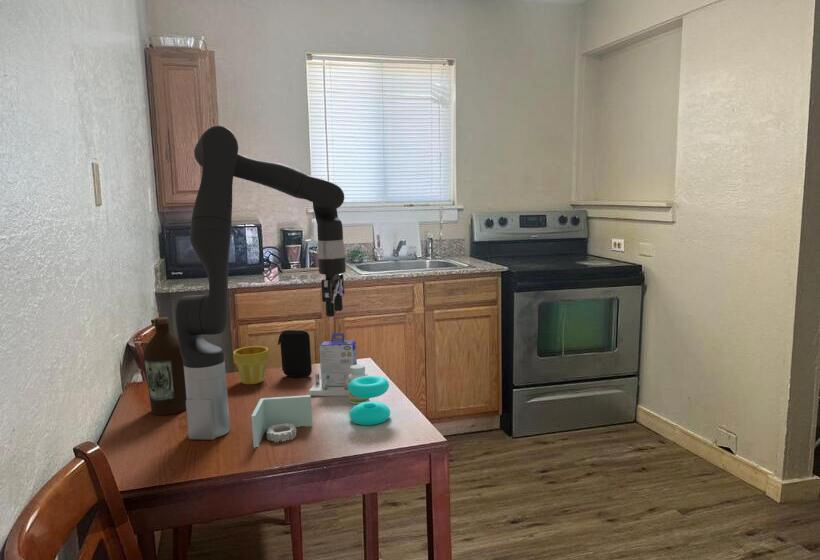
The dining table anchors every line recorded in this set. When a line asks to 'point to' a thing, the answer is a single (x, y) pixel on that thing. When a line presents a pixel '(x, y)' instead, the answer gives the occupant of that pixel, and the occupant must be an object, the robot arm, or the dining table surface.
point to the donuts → (369, 410)
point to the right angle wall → (280, 417)
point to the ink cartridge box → (337, 359)
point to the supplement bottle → (355, 373)
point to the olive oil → (165, 371)
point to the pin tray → (328, 388)
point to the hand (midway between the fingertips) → (334, 313)
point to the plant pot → (251, 363)
